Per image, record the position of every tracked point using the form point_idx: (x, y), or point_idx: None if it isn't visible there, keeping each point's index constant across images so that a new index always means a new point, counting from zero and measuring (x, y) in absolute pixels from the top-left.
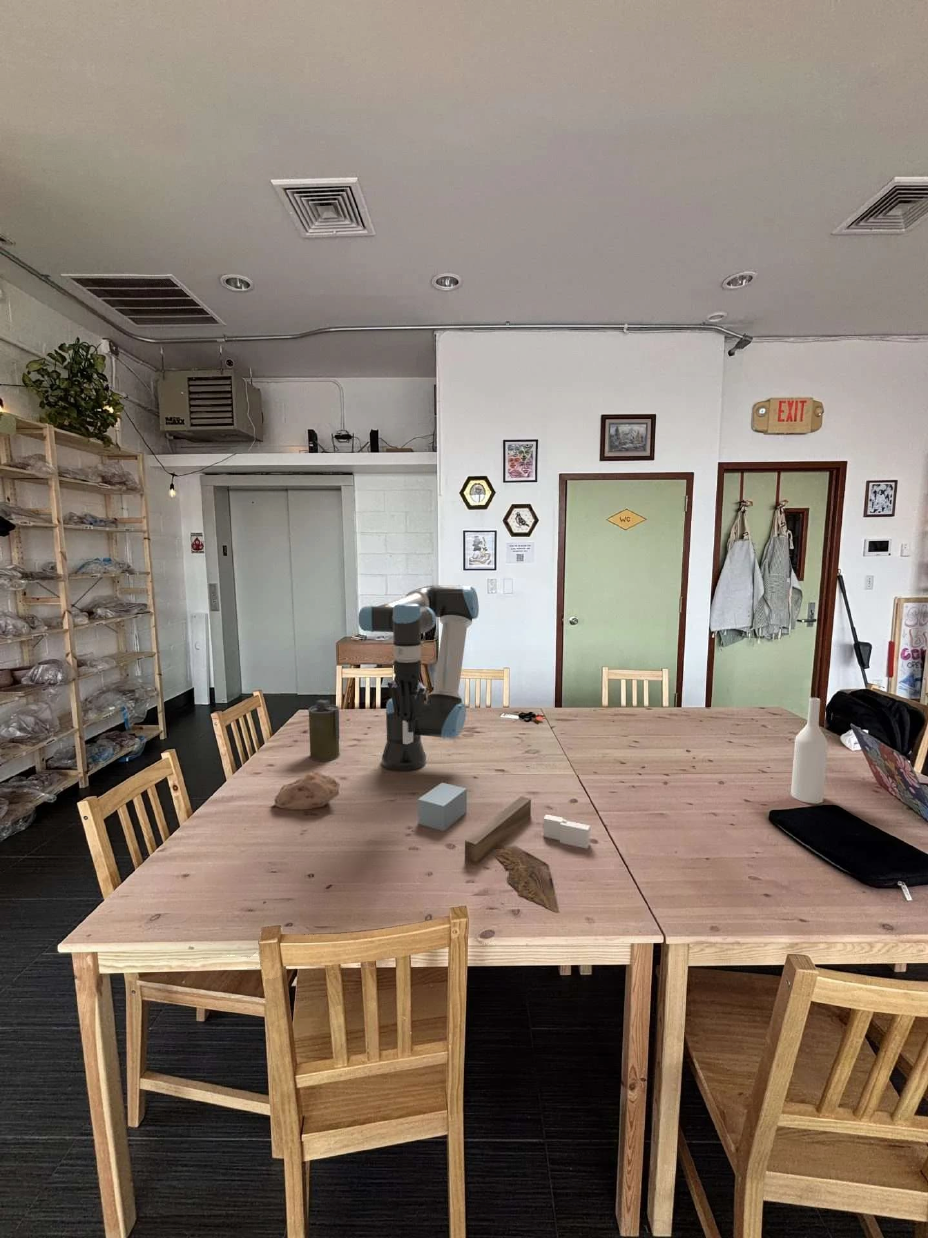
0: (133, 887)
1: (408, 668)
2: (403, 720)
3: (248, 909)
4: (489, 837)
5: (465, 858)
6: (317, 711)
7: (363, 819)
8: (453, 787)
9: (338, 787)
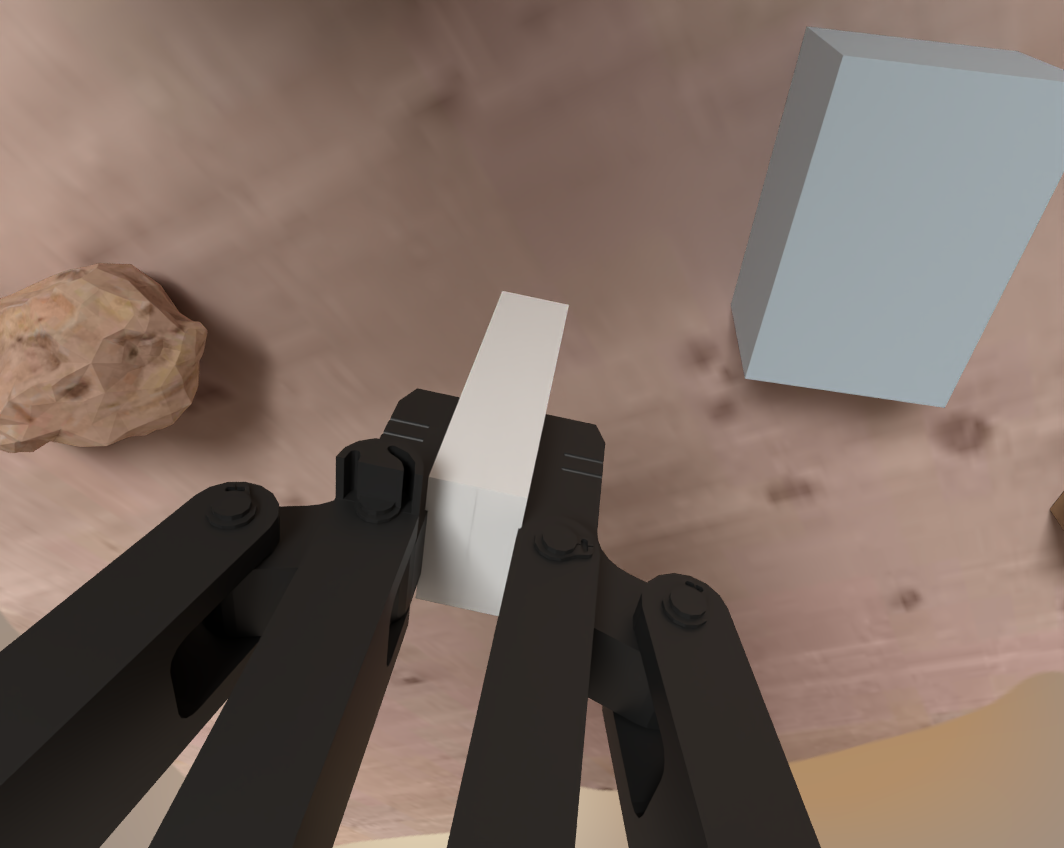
0: (186, 765)
1: None
2: (417, 585)
3: None
4: None
5: (1058, 517)
6: None
7: (441, 360)
8: (972, 111)
9: (173, 328)
